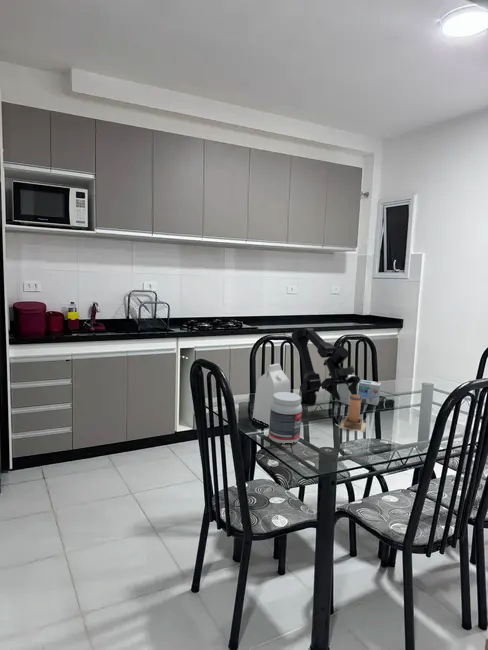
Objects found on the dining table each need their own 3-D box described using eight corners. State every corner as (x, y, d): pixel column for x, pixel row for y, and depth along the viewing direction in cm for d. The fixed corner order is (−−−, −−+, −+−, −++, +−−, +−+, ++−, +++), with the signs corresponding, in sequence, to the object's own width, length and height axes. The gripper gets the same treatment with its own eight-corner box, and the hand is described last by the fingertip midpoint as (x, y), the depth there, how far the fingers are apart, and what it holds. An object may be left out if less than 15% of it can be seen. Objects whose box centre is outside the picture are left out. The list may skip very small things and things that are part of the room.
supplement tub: (302, 446, 182) (306, 401, 179) (270, 445, 181) (273, 400, 178) (296, 433, 195) (299, 391, 192) (266, 432, 194) (269, 390, 191)
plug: (346, 426, 201) (349, 397, 199) (347, 422, 206) (350, 393, 204) (358, 428, 200) (361, 398, 198) (359, 424, 205) (362, 395, 202)
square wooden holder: (338, 431, 200) (339, 422, 199) (341, 422, 210) (342, 414, 209) (364, 435, 196) (365, 426, 196) (365, 426, 207) (366, 417, 206)
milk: (270, 413, 216) (274, 360, 212) (289, 421, 208) (293, 365, 204) (252, 419, 208) (255, 363, 203) (271, 427, 200) (275, 369, 195)
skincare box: (355, 403, 237) (358, 376, 235) (347, 405, 234) (350, 377, 231) (344, 399, 244) (346, 372, 242) (335, 400, 241) (338, 373, 238)
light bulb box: (356, 402, 240) (358, 382, 239) (358, 398, 247) (360, 379, 245) (377, 405, 236) (379, 385, 235) (379, 401, 243) (381, 382, 241)
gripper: (326, 361, 204) (339, 392, 196) (359, 358, 212) (373, 388, 204) (315, 373, 212) (327, 404, 204) (347, 370, 220) (360, 400, 212)
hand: (347, 398), depth 206 cm, fingers open, 9 cm apart
